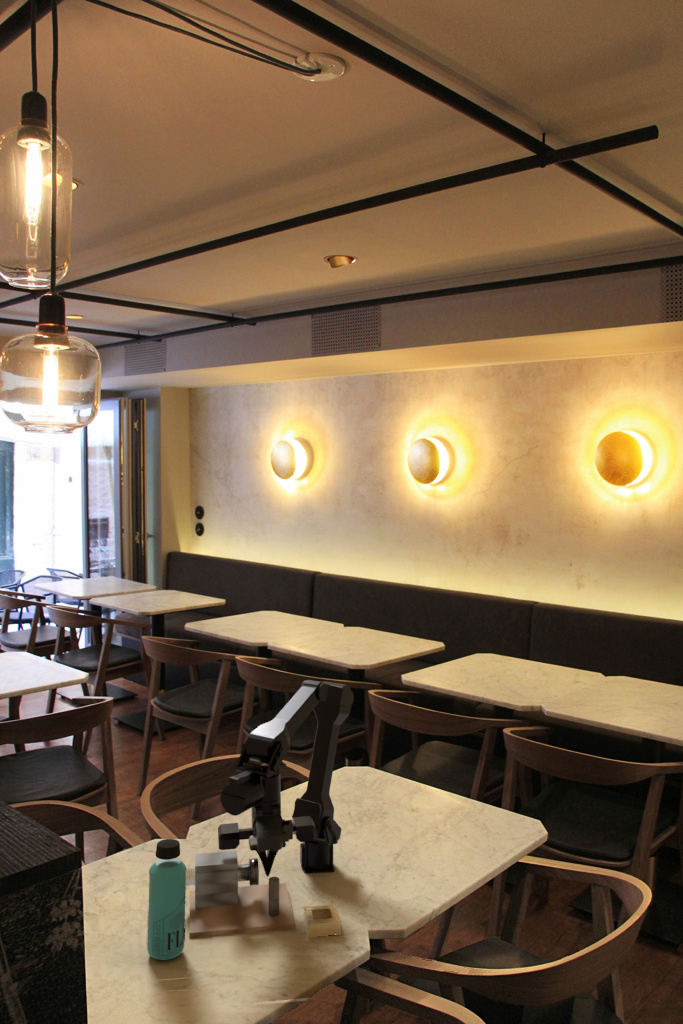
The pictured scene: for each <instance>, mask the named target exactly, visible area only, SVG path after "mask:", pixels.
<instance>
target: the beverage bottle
mask: <svg viewBox="0 0 683 1024" xmlns="http://www.w3.org/2000/svg"><path fill="white" fill-rule="evenodd" d="M180 844H181V843H180V841H179V840H177V839H174V838H165V839H162V840H160V841H158V842H157V843H156V848H155V857H156V858H157V860H156V861H155V862H153V863H152V865H151V866H150V867H149V869H148V875H149V877H148V878H149V880H148V881H149V883H148V888H149V889H148V909H147V912H148V913H147V917H146V919H147V920H146V921H147V923H146V925H147V929H146V930H147V932H146V934H147V937H146V940H147V942H146V948H145V949H147V953H148V955H149V956H150V958H153V959H154V960H155V959H156V960H162V961H166V960H171V959H174V958H175V959H176V957H178V956H180V955H181V954H182V953H183V951H184V948H185V942H186V925H187V924H186V917H185V916H186V914H187V913H186V903H187V901H186V898H187V896H186V889H187V886H186V884H185V877H186V869H187V867H186V865H185V863H184V862H183V861H182V860H181V859H179V856H181V845H180Z"/></svg>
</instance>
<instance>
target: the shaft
mask: <svg viewBox="0 0 683 1024" xmlns="http://www.w3.org/2000/svg"><path fill="white" fill-rule="evenodd" d="M259 870H260V869H259V859H258V857H254V858H249V859H248V863H241V864H238V883H239V882H247V881H248V882H249V886H257V885H260V884H259V883H260V882H259V881H260V871H259ZM185 884H186V887H187V886H188V887H189V886H195V867H191V868H186V877H185Z"/></svg>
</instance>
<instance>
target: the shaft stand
mask: <svg viewBox="0 0 683 1024" xmlns="http://www.w3.org/2000/svg"><path fill="white" fill-rule="evenodd" d="M194 855H195V858H194V864H195V865H194V868H195V885H194V887H195V888H194V889H195V890H189V925H188V926H189V930H188V931H189V932H188V934H189V936H188V937H189V938H202V937H203V938H205V937H212V936H220V935H221V936H222V935H233V934H249V933H263V931H266V932H277V931H280V932H281V931H294V930H296V923H295V916H294V911H293V909H292V904H291V899H290V894H289V890H288V885H287V882H286V883H285V882H283V883H280V878H279V877H278V876H271V877H269V878H268V884H258V885H253V886H250V885H248V886H246V885H245V886H239V882H238V865H239V861H238V853H237V850H231V851H230V850H227V851H217V852H216V851H215V852H204V853H203V852H202V853H195V854H194Z"/></svg>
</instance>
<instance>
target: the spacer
mask: <svg viewBox="0 0 683 1024" xmlns="http://www.w3.org/2000/svg"><path fill="white" fill-rule="evenodd" d="M303 923H304V927H305V931H306V935H307V938H308V937H312V938H318V937H317V936H326V937H328V936H327V935H335V934H336V936H339V935H338V934H341V935H342V921H341V917H340V914H339V912H338V908H337V905H336V904H322V905H314V906H313V905H312V906H311V905H310V906H304V907H303Z"/></svg>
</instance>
